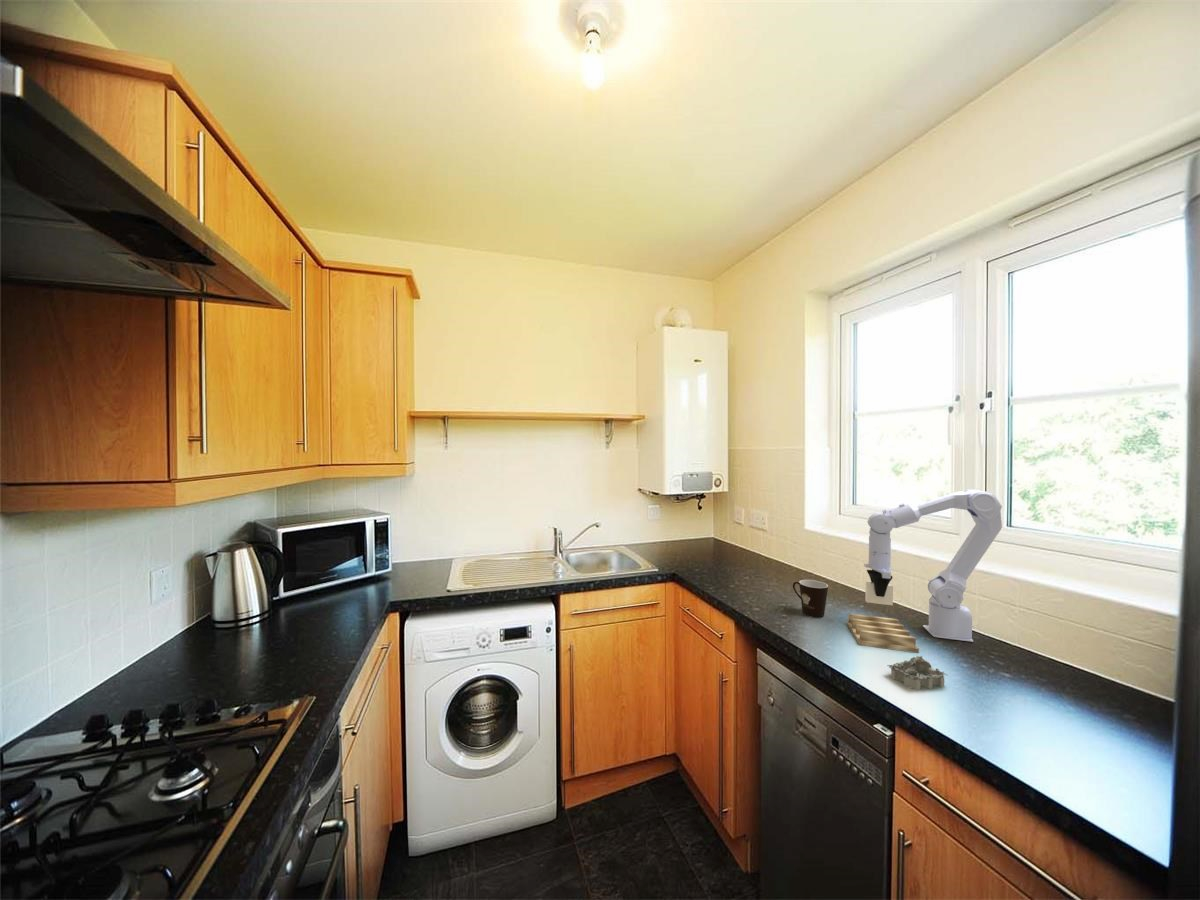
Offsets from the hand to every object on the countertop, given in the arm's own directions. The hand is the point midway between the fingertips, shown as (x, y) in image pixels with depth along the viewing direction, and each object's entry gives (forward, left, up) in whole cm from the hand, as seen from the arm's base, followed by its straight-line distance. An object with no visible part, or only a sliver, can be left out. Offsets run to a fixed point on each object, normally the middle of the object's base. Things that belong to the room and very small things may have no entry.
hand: (878, 595), depth 132 cm
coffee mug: (+19, -3, -9) cm, 21 cm away
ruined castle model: (+2, +35, -9) cm, 36 cm away
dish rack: (+3, +11, -9) cm, 15 cm away
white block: (0, 0, -2) cm, 2 cm away
